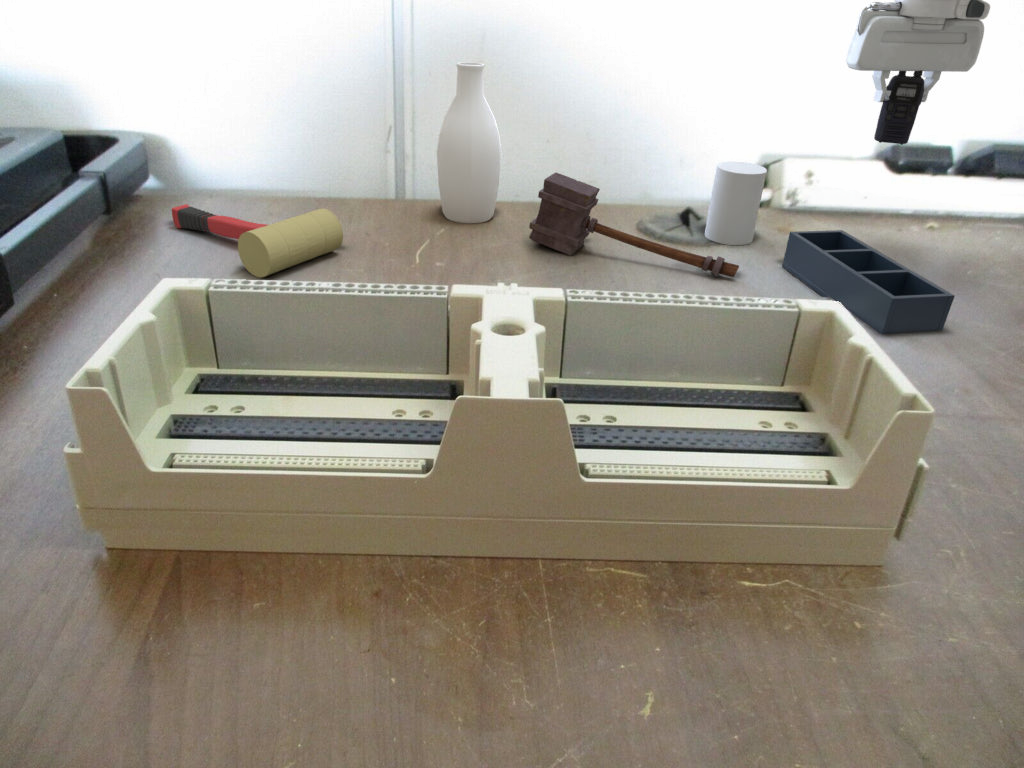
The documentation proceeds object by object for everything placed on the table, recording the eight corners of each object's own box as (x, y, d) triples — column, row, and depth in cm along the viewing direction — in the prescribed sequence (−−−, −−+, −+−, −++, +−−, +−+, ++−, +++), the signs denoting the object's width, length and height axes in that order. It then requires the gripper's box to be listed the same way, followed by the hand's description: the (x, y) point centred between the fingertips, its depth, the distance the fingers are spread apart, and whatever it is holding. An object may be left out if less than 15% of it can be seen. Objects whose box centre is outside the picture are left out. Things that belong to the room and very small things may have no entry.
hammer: (540, 226, 129) (555, 169, 123) (725, 299, 121) (750, 242, 116) (524, 238, 123) (539, 179, 118) (717, 315, 116) (742, 256, 110)
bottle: (464, 230, 130) (465, 70, 117) (424, 213, 137) (422, 61, 124) (512, 218, 137) (518, 65, 124) (472, 203, 144) (474, 57, 131)
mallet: (144, 246, 122) (273, 281, 107) (135, 205, 119) (266, 236, 104) (218, 224, 132) (345, 253, 118) (211, 186, 129) (340, 211, 115)
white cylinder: (762, 242, 131) (777, 172, 125) (722, 247, 128) (736, 175, 122) (733, 227, 137) (746, 160, 131) (695, 231, 135) (707, 162, 129)
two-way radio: (873, 142, 121) (901, 39, 114) (869, 137, 125) (895, 37, 118) (910, 146, 120) (941, 42, 113) (905, 141, 124) (934, 40, 117)
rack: (833, 264, 123) (842, 230, 120) (940, 335, 101) (955, 295, 99) (781, 266, 121) (789, 231, 118) (879, 339, 100) (892, 298, 97)
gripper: (876, 3, 108) (851, 105, 115) (1000, 6, 112) (969, 105, 119) (850, 0, 114) (828, 98, 121) (970, 3, 117) (942, 98, 124)
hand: (899, 101), depth 120 cm, fingers closed on two-way radio, 5 cm apart
